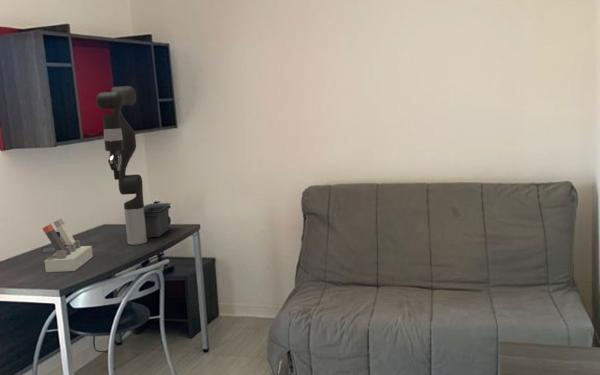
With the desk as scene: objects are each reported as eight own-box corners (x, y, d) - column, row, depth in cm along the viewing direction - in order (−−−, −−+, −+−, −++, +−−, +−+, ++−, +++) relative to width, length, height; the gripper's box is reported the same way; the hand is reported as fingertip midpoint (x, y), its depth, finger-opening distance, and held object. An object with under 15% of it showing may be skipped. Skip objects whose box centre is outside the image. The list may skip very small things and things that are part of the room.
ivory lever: (74, 248, 266) (57, 220, 264) (78, 246, 266) (61, 218, 264) (70, 251, 262) (53, 222, 260) (75, 248, 262) (57, 220, 260)
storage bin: (161, 238, 298) (159, 210, 296) (131, 239, 300) (128, 211, 298) (175, 229, 319) (172, 202, 317) (146, 230, 321) (144, 203, 319)
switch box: (66, 258, 270) (64, 240, 269) (92, 256, 270) (90, 238, 269) (45, 272, 248) (43, 253, 247) (74, 270, 248) (72, 251, 247)
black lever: (64, 255, 255) (46, 226, 253) (69, 252, 255) (50, 223, 253) (60, 258, 251) (42, 228, 249) (65, 255, 251) (46, 225, 249)
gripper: (109, 138, 263) (113, 177, 266) (99, 141, 250) (103, 182, 253) (126, 137, 263) (130, 176, 266) (117, 140, 250) (121, 181, 253)
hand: (117, 179), depth 260 cm, fingers closed
